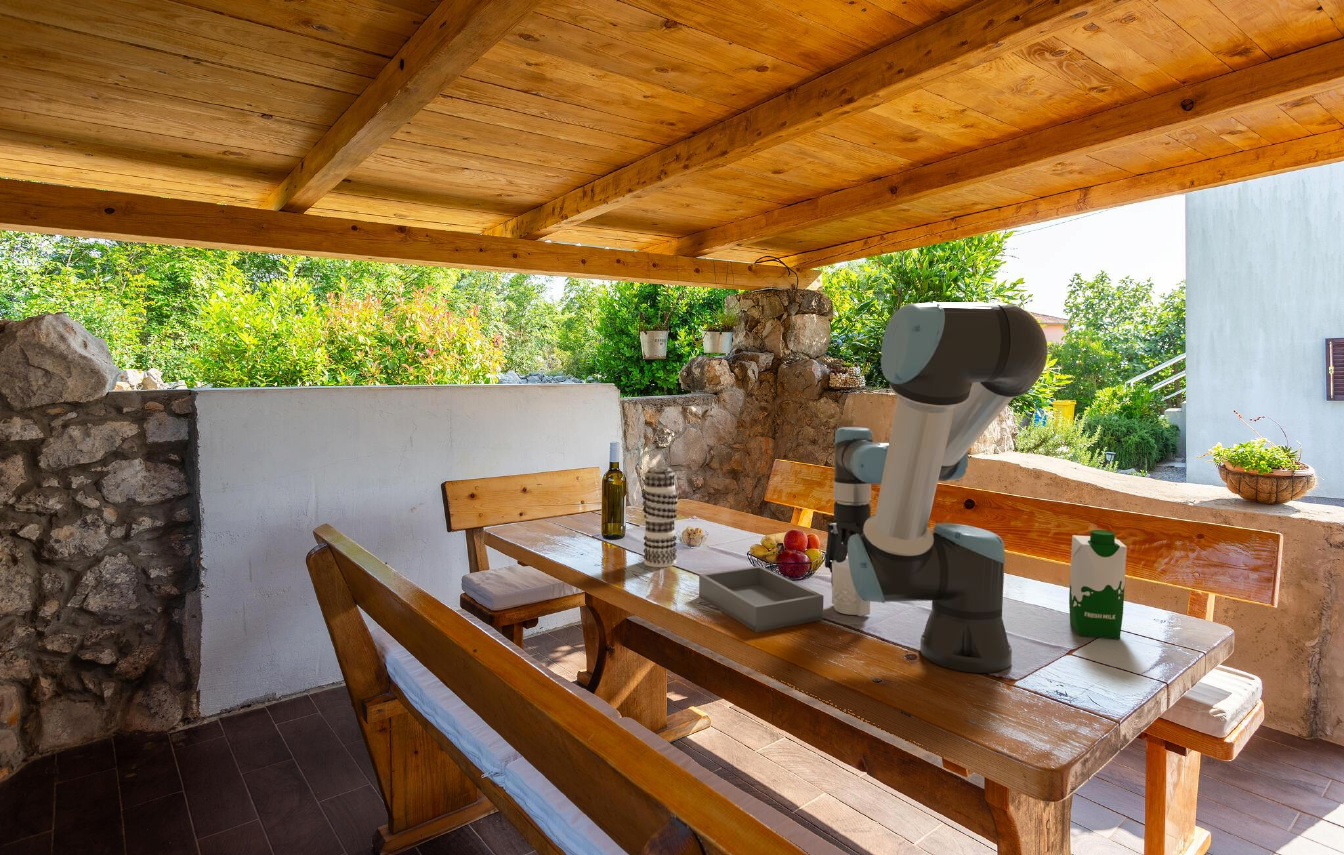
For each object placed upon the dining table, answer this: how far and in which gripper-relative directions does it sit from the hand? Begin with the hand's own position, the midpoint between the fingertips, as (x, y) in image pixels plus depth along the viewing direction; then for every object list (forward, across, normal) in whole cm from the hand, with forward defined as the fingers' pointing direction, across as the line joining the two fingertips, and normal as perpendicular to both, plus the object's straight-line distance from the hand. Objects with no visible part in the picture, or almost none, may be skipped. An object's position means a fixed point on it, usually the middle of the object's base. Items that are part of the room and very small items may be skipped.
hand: (850, 608), depth 155 cm
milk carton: (+1, -30, -35) cm, 46 cm away
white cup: (0, 0, 0) cm, 0 cm away
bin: (0, +10, +16) cm, 19 cm away
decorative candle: (0, +51, +21) cm, 55 cm away
